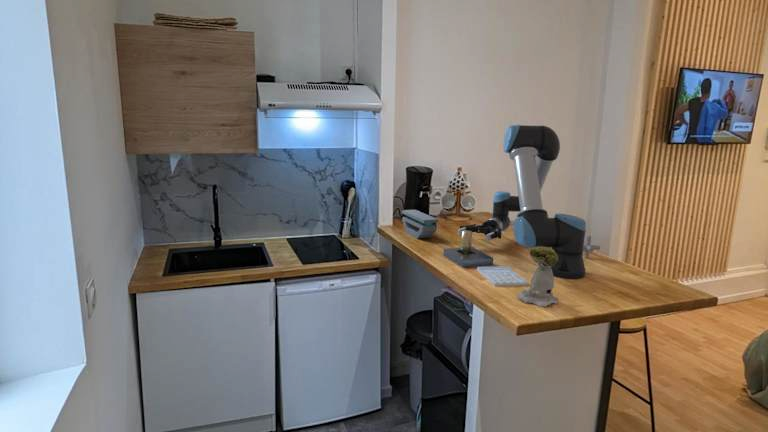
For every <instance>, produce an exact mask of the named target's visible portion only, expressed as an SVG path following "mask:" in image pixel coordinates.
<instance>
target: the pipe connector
mask: <svg viewBox="0 0 768 432" xmlns="http://www.w3.org/2000/svg"><path fill="white" fill-rule="evenodd" d="M585 239H586V240H585V241H584V247H583V250H584V256H583V257H585V258H584V259H587V258H588V259H589V257H590V253H593V252H594V250H596V251H597V250H599V251H600V250H601V246H600V245H593V244H591V243H592V242H591V241H592V236H591V235H586V238H585Z"/></svg>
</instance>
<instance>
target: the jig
mask: <svg viewBox="0 0 768 432" xmlns="http://www.w3.org/2000/svg"><path fill="white" fill-rule="evenodd" d="M460 252H461V246H460V247H450V248H449V247H447V248H443V256H444V257H445V258H447V259H448V260H450V261H451V262H453V263H455V264H456V263H457V264H456V265H457V266H459V267H461V268H474V267H475V268H476V267H489V266H494V260H495V259H494V257H492V256H490V255H488V254H486V253H485V252H483V251H481V250H480V249H477V248H476V247H474V246H471V254H461V253H460Z"/></svg>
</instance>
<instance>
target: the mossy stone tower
mask: <svg viewBox="0 0 768 432" xmlns="http://www.w3.org/2000/svg"><path fill="white" fill-rule="evenodd" d="M528 254H529V255H530V258H531V260H533V262H535V263H537V264H538V266H537V267H536V269H535V270H534V272H533V275H532V278H531V281H530V284H529V289H523V290H521V291H520V293H517V297H518V298H519V299H520V300H522V301H523V302H522V303H524V304H525V303H526V304H527V303H529V304H530V303H531V304H534V305H535V306H538V307H548V306H550V305H552V306H554V304H555V305H556V304H559V303H558V302H559V298H557V297H556V296H554V293H553V292H552V290H553V289H554V287H555V280H556V278H555V276H553V273H552V269H551V266H554V265H555V263H556V262H557V261H558V256H557V254H556V252H555V251H554V250H553V249H552V247H533V248H531V249H530V251H529V253H528ZM553 303H554V304H553Z"/></svg>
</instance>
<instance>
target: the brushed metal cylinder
mask: <svg viewBox="0 0 768 432" xmlns="http://www.w3.org/2000/svg"><path fill="white" fill-rule="evenodd" d="M460 237H461V239H460V247H461V252H460V253H461V254H471V247H472V243H473V241H472V240H473V232H472V231H467V230H464V231H462V235H460Z"/></svg>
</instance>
